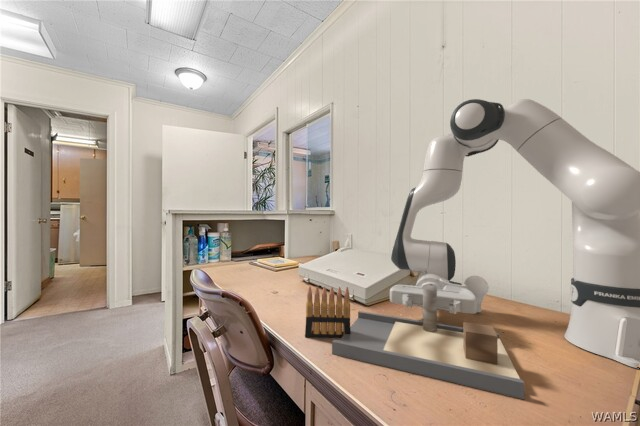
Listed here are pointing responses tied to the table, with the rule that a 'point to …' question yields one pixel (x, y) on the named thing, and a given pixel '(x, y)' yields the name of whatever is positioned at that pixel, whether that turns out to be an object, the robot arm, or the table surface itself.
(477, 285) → the lightbulb
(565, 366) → the table surface
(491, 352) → the walnut block
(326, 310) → the ammunition clip
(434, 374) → the rail base
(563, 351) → the table surface
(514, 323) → the table surface
